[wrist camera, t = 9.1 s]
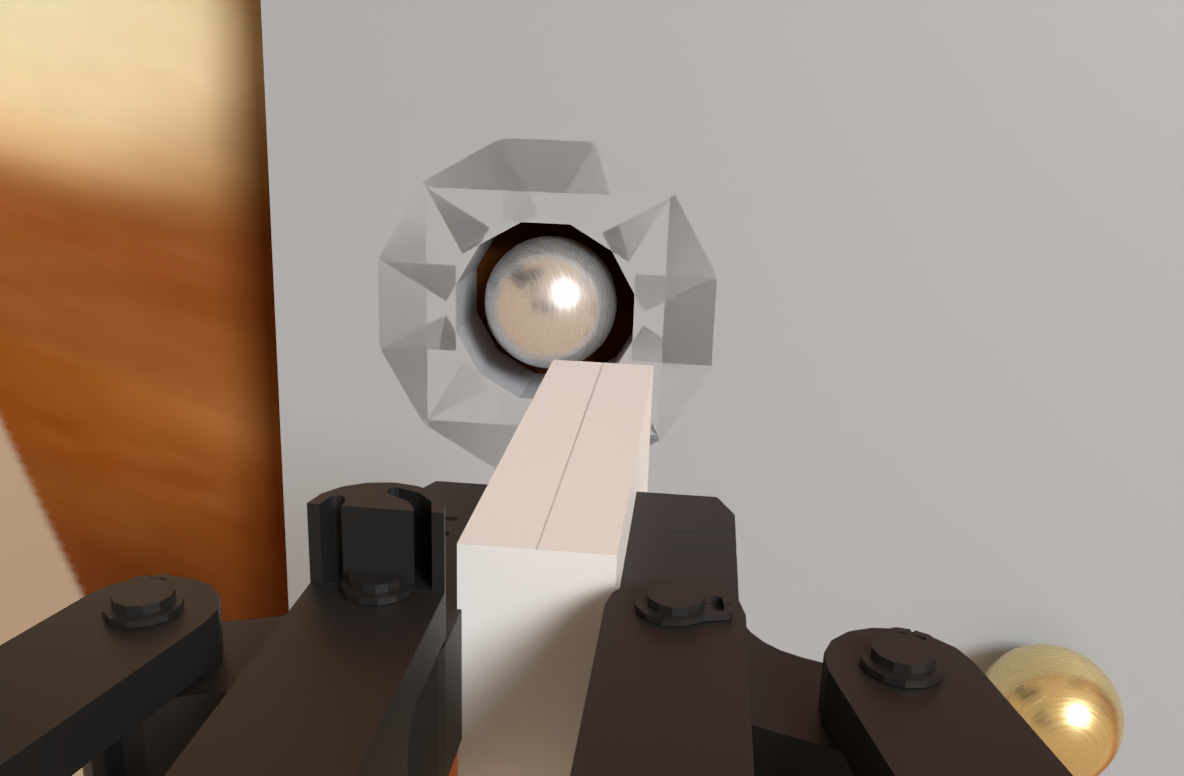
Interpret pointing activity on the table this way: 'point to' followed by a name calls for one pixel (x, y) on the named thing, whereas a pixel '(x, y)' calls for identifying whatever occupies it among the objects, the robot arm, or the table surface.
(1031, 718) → the brass ball
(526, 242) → the steel ball
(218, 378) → the table surface
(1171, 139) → the plate
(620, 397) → the robot arm
